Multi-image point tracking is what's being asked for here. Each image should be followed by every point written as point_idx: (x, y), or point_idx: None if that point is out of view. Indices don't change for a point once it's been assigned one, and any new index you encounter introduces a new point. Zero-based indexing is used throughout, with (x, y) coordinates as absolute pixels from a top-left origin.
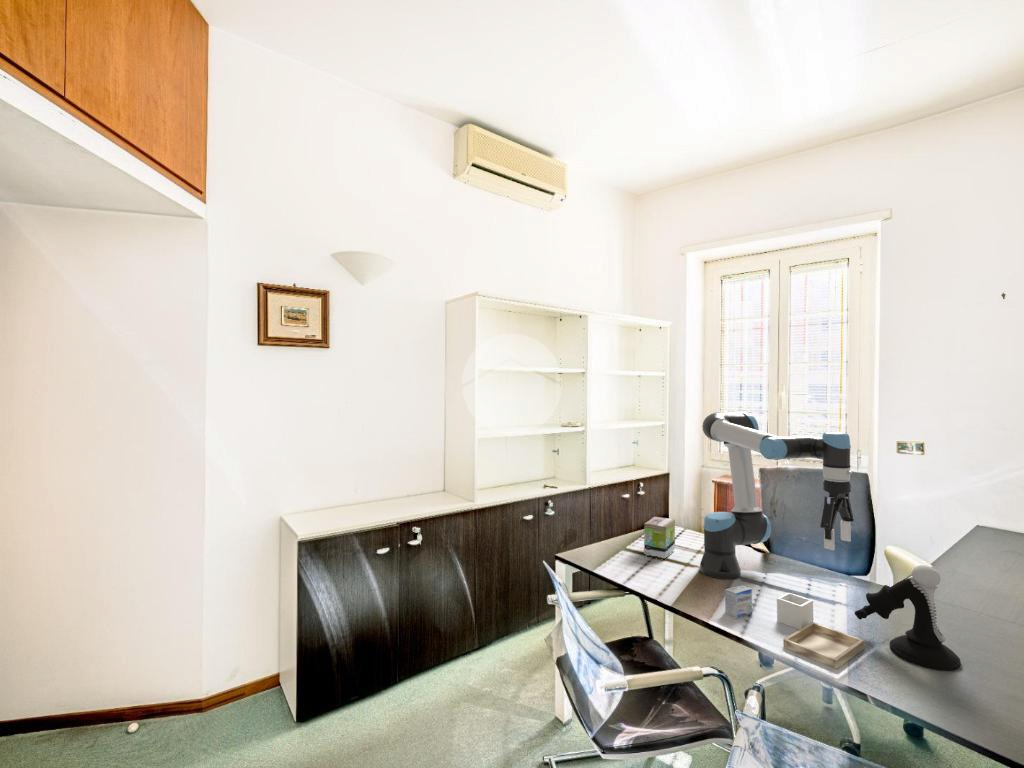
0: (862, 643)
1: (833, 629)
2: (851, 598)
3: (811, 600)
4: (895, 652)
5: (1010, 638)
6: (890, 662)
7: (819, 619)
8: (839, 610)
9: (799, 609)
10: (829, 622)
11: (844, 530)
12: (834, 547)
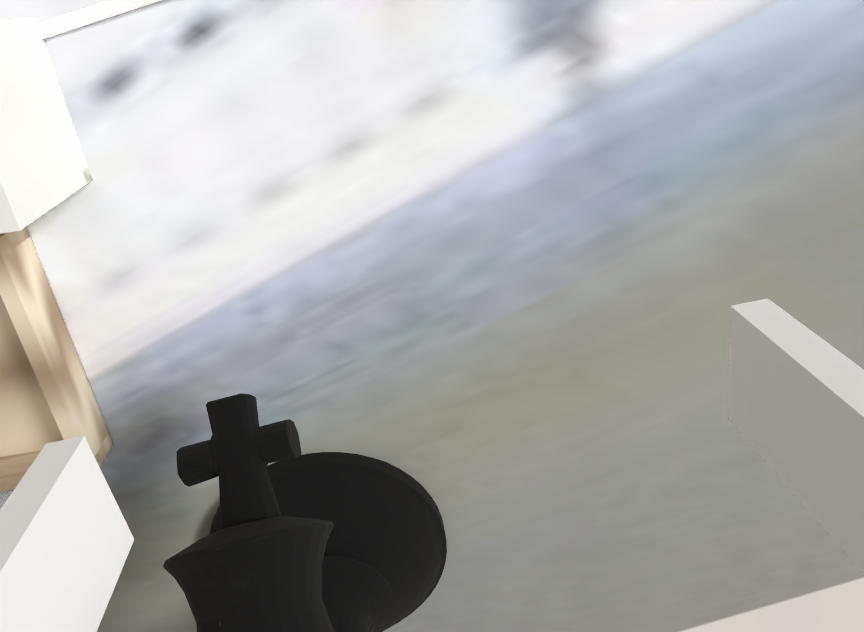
0: None
1: (39, 352)
2: (728, 54)
3: (5, 226)
4: (217, 514)
5: (780, 592)
6: (132, 529)
7: (215, 142)
8: (462, 126)
9: None
10: (237, 195)
11: (832, 461)
12: (120, 567)
